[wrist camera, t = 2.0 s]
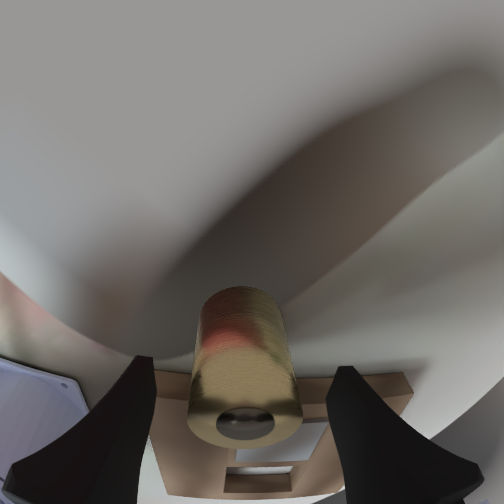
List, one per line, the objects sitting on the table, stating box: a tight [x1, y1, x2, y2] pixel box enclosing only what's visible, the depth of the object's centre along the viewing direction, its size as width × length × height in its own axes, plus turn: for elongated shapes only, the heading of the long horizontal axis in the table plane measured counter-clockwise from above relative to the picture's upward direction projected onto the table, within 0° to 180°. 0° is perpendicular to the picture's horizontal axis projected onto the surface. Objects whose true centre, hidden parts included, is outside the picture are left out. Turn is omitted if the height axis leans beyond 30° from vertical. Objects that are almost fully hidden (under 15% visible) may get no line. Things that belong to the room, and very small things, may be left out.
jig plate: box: [149, 370, 414, 500], centre depth 19 cm, size 16×16×2 cm
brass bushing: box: [187, 286, 303, 449], centre depth 12 cm, size 4×4×6 cm
